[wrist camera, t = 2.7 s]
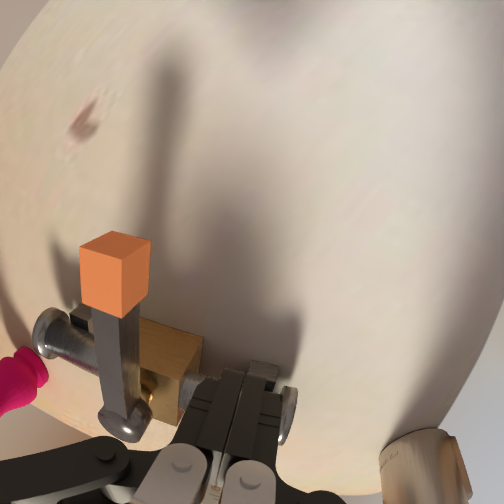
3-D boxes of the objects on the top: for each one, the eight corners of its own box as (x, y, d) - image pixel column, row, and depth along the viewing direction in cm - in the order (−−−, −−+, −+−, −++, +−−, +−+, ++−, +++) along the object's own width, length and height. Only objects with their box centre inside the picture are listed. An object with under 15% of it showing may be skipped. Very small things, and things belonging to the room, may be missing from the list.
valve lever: (154, 425, 21) (140, 451, 18) (116, 409, 22) (99, 433, 19) (159, 243, 16) (130, 262, 13) (104, 229, 16) (72, 244, 13)
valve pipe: (301, 362, 26) (296, 425, 19) (283, 406, 28) (274, 466, 21) (68, 289, 28) (21, 322, 21) (74, 335, 30) (34, 371, 23)
